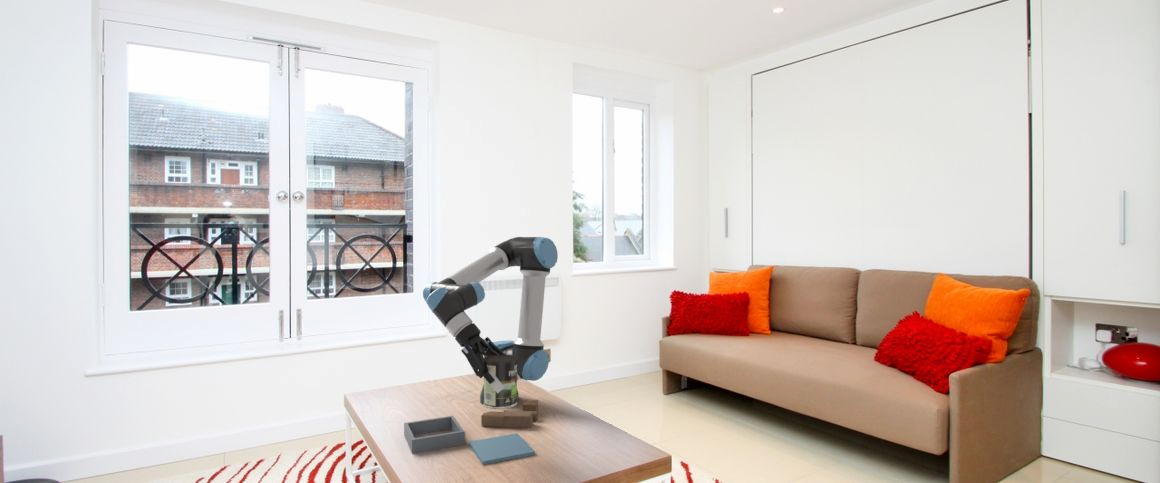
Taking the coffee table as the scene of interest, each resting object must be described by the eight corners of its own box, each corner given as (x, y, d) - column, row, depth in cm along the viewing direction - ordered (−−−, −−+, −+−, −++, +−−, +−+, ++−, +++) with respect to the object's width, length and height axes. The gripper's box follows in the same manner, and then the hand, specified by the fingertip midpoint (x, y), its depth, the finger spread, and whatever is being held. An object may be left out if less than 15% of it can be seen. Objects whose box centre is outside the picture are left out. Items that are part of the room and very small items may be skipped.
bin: (453, 427, 185) (453, 415, 184) (464, 444, 170) (464, 431, 170) (404, 435, 178) (404, 422, 177) (411, 453, 163) (411, 440, 163)
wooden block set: (533, 413, 183) (480, 412, 185) (533, 430, 183) (480, 428, 185) (540, 397, 200) (493, 396, 202) (541, 412, 200) (493, 411, 202)
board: (517, 436, 177) (517, 433, 177) (535, 454, 162) (535, 451, 162) (468, 444, 170) (468, 441, 170) (482, 464, 155) (482, 461, 155)
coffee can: (521, 399, 170) (521, 355, 169) (510, 410, 159) (511, 363, 159) (490, 397, 172) (490, 353, 171) (477, 408, 161) (478, 361, 161)
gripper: (474, 331, 181) (517, 383, 176) (435, 345, 159) (483, 404, 155) (489, 316, 179) (532, 368, 174) (451, 328, 158) (499, 387, 153)
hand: (509, 385), depth 164 cm, fingers closed on coffee can, 10 cm apart
